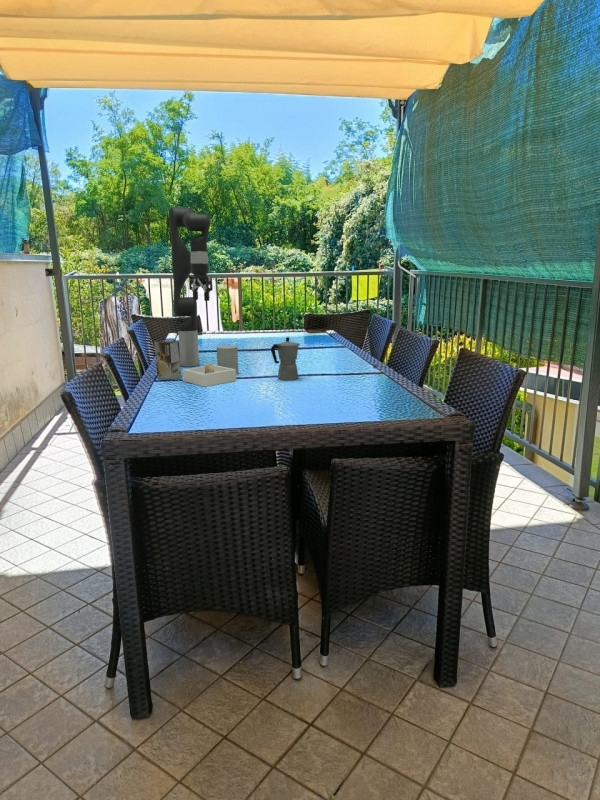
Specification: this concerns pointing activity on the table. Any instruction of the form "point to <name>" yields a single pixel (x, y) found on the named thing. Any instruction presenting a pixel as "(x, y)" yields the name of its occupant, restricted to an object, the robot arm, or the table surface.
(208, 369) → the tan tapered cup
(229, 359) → the gray cylinder
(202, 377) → the box
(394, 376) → the table surface
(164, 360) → the coffee box
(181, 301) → the robot arm
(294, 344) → the coffeepot
